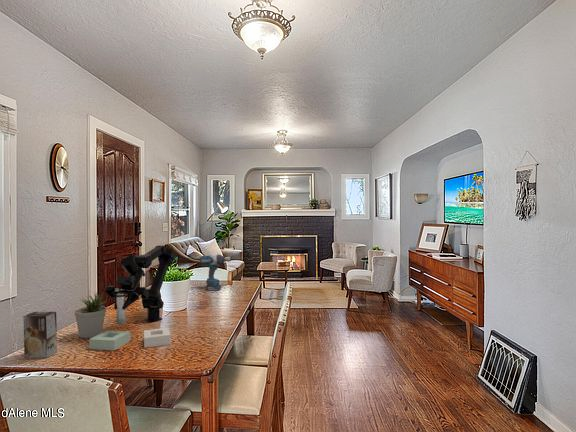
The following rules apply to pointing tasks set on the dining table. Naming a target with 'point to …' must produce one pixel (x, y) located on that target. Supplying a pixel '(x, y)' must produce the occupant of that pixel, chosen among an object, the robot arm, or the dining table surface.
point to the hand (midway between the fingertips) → (119, 309)
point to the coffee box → (40, 334)
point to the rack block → (109, 340)
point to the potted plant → (90, 317)
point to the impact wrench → (213, 269)
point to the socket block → (156, 337)
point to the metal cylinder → (121, 308)
